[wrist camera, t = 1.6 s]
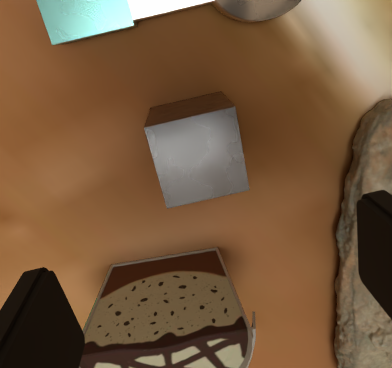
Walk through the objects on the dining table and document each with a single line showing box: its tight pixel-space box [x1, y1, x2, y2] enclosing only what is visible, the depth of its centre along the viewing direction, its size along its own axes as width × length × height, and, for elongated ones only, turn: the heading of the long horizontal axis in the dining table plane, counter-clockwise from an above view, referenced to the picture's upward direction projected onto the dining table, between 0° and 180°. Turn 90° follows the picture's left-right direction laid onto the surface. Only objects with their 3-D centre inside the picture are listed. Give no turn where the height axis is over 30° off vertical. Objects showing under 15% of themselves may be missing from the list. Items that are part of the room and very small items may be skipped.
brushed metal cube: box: [144, 92, 249, 209], centre depth 23 cm, size 5×5×6 cm
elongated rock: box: [334, 99, 392, 368], centre depth 31 cm, size 35×5×10 cm
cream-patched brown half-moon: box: [79, 247, 256, 368], centre depth 26 cm, size 12×6×10 cm, turn 99°
